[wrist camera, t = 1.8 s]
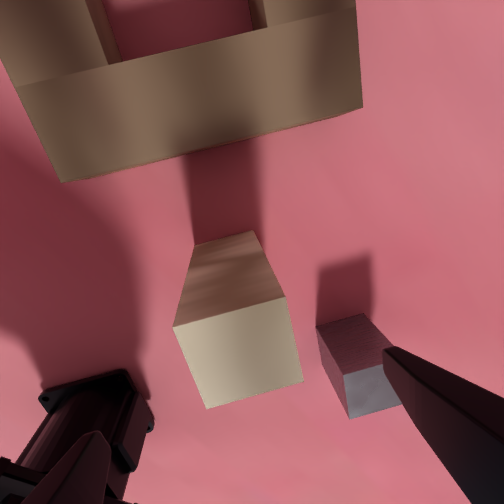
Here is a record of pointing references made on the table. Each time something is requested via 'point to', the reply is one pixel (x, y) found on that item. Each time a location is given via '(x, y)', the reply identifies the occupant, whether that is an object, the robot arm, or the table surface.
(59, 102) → the walnut sleeve block
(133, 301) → the table surface
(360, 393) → the metal stub
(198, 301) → the maple pin
